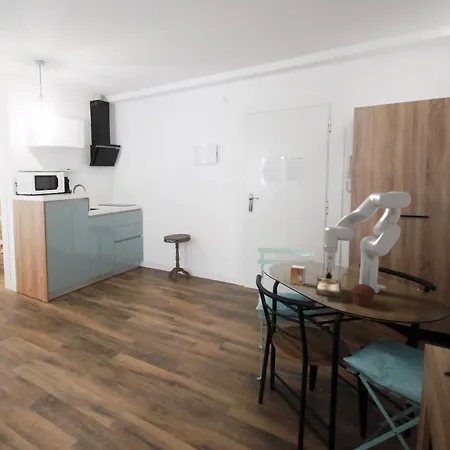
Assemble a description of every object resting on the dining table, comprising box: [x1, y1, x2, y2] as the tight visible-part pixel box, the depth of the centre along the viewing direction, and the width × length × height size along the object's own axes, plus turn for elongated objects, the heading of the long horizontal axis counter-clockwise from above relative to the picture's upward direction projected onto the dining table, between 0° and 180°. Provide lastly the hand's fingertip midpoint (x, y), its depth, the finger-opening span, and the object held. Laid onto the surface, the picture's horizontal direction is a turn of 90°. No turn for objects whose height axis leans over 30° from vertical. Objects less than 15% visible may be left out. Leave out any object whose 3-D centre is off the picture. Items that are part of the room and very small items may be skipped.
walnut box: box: [315, 275, 342, 298], centre depth 198 cm, size 13×16×6 cm
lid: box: [317, 278, 340, 292], centre depth 190 cm, size 11×14×3 cm
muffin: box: [351, 283, 377, 308], centre depth 179 cm, size 12×11×10 cm
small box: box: [289, 264, 307, 286], centre depth 212 cm, size 8×6×10 cm
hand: (328, 280), depth 197 cm, fingers closed
